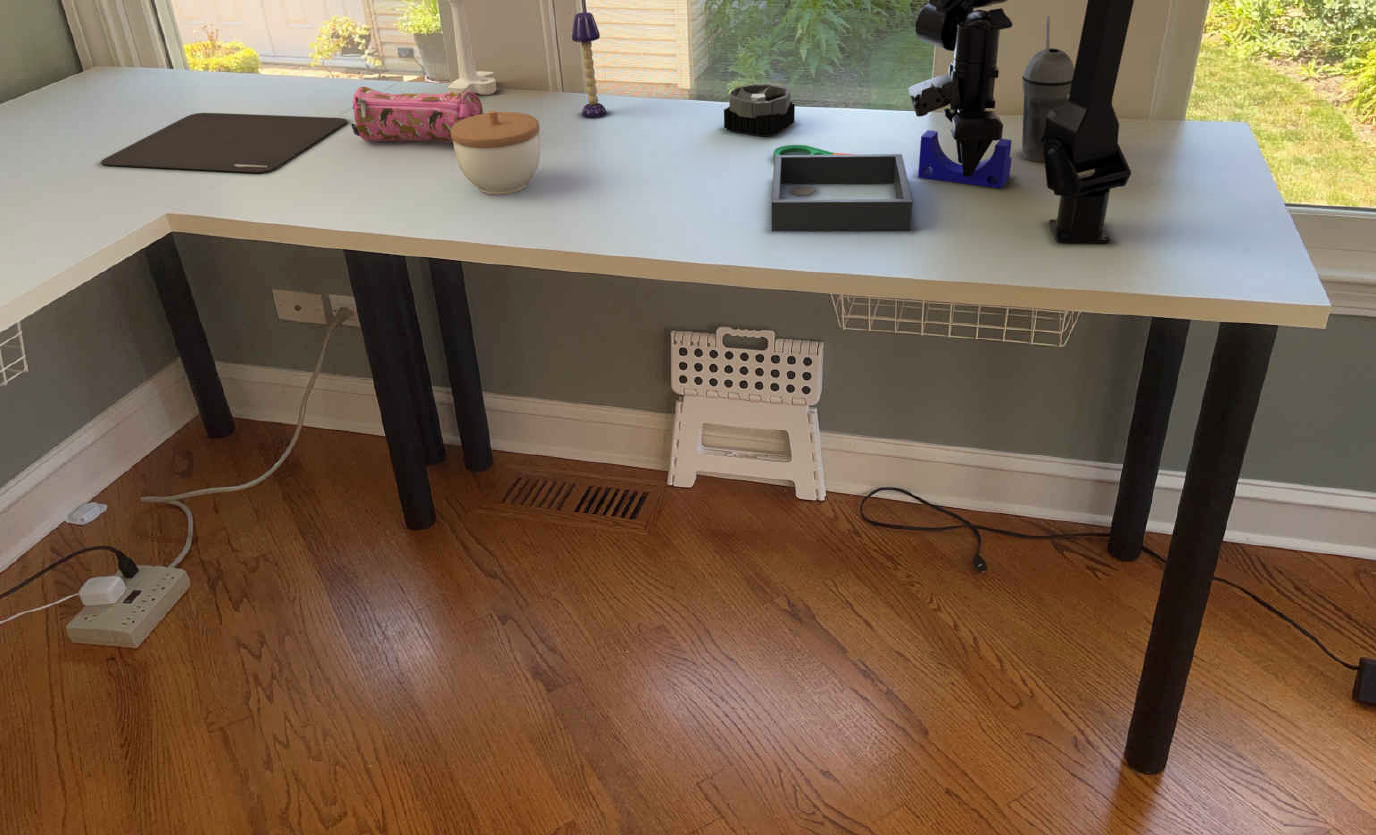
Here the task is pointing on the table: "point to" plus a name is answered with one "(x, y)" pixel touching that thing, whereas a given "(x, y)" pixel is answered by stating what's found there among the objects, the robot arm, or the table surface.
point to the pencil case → (411, 114)
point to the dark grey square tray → (840, 210)
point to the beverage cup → (1043, 94)
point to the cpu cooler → (759, 110)
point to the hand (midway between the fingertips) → (964, 169)
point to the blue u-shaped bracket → (943, 168)
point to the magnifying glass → (804, 150)
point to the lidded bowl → (497, 150)
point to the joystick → (467, 58)
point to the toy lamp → (588, 60)
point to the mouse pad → (226, 142)
